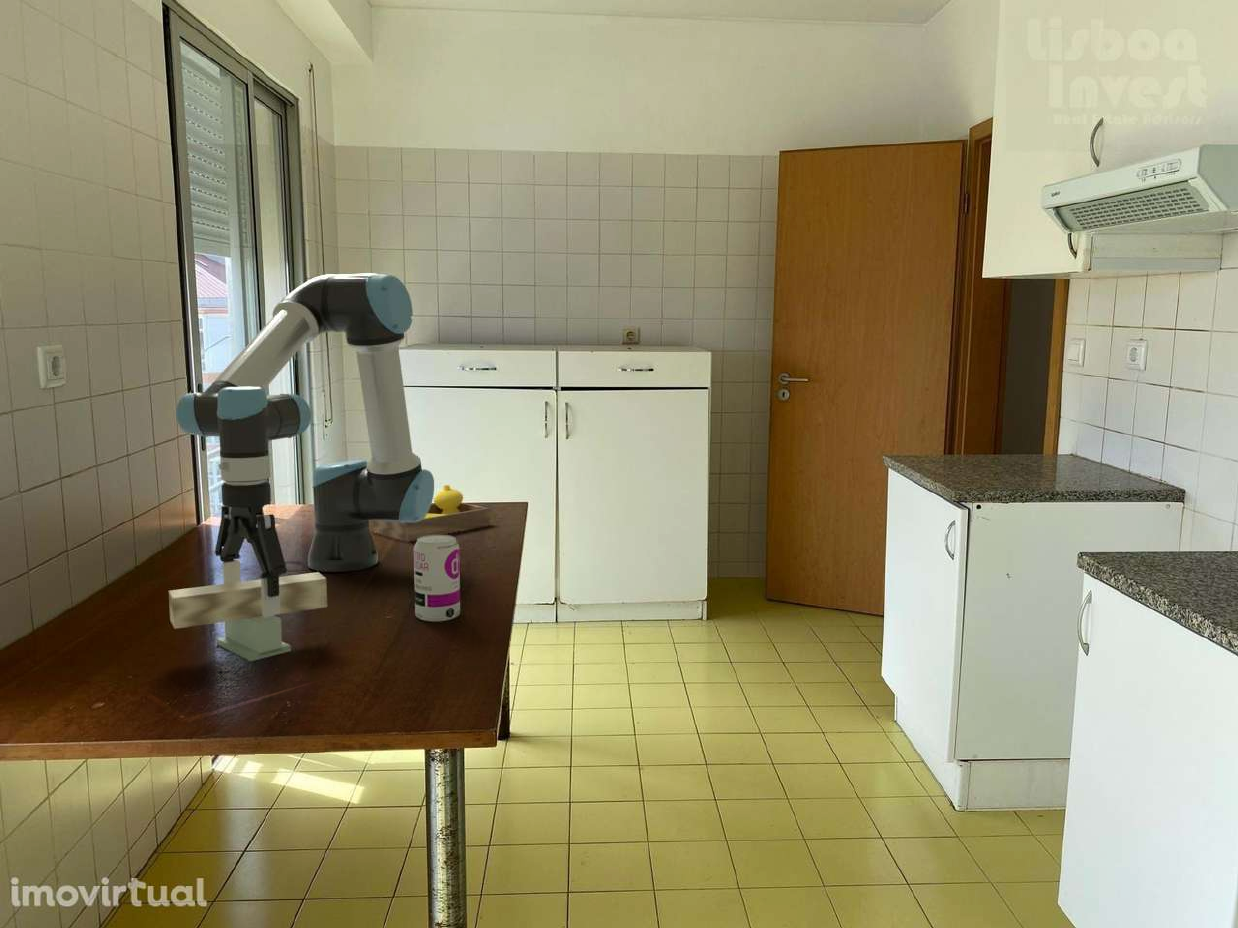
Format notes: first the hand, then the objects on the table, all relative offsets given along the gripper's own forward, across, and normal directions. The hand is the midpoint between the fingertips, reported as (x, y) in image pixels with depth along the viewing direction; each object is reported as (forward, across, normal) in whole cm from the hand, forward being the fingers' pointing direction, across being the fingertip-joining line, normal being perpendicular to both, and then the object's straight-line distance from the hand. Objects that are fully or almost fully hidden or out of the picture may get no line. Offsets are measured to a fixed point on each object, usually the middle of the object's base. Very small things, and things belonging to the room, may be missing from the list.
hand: (251, 606), depth 161 cm
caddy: (+7, -53, +75) cm, 92 cm away
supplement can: (+7, +8, +32) cm, 34 cm away
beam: (+1, 0, 0) cm, 1 cm away
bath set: (+7, -55, +78) cm, 96 cm away
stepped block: (+7, 0, 0) cm, 7 cm away
